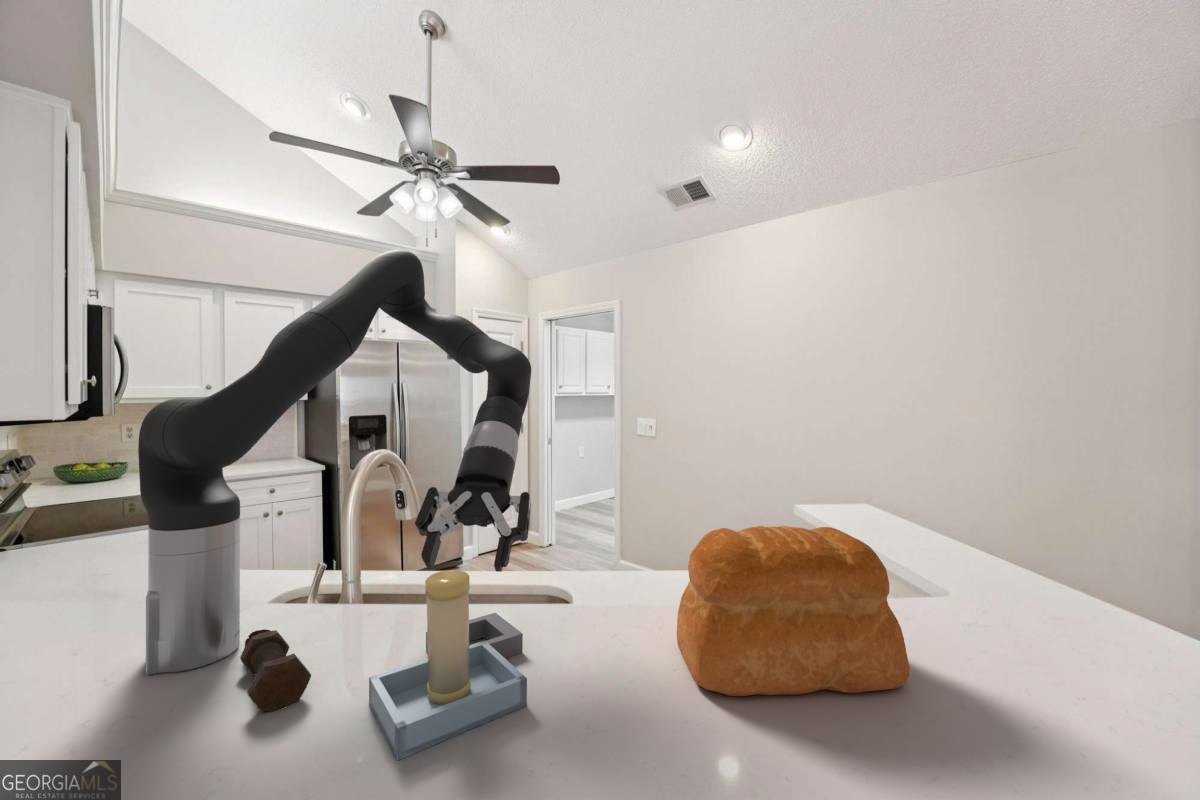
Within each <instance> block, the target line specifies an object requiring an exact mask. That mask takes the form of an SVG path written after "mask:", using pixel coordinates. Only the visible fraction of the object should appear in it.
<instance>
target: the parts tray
mask: <svg viewBox="0 0 1200 800" xmlns="http://www.w3.org/2000/svg"><path fill="white" fill-rule="evenodd" d="M486 641H487V640H483V641H482V640H481V641H479V642H476V643H472V644H469V669H470V677H471V689H470V692H469V694H468V695H467V696H466V697H464V698H462V699H459V700H456V701H454V702H451V703H448V704H446V705H437V704H434V703H432V702H431V701H430V700H429V698H428V688H427V684H428V658H425V659H422V660H418V661H416V662H413V663H409V664H406V665H403V666H399V667H396V668H393V669H390V670H386V671H384V672H380V673H378V674H377V673H376V674H375V675H374V674H373V675H371V676H369V677H368V706H369V708H370V710H371V712H372V713H373V715H374V717H375V719H376V721H377V723H378V724H379V727H380V729H381V731H382V733H383V735H384V736H385V739H386V740H387V741H386V742H387V743H388V745H389V746H390V748H391V751H392V753H393V754H394V757H395V759H396V761H399V760H402V759H405V758H407V757H410V756H412V755H413V754H416V753H419V752H420V751H423V750H426V749H427V748H430V747H433V746H435V745H438V744H440V743H442V742H444V741H447V740H449V739H451V738H454V737H456V736H459V735H461V734H464V733H466V732H468V731H471V730H473V729H475V728H477V727H479V726H480V727H481V726H482V725H485V724H487V723H490V722H492V721H494V720H497V719H499V718H501V717H503V716H505V715H509V714H511V713H513V712H516V711H517V710H519V709H522V708H525V707H527V705H528V702H527V701H528V700H527V699H528V698H527V697H528V678H527V677H526V676H525V675H524V674H523V673H522V672H520V670H519V669H517V667H515V666H514V665H513V664H512V663H511V662H509V660H508V659H507V658H504V657H503V656H502V655H501V654H499V653H498V652H497V651H496V650H495V649H494V648H493V647H492V646H491V645H489V644H488V643H487V642H486Z"/></svg>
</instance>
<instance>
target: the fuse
mask: <svg viewBox="0 0 1200 800" xmlns="http://www.w3.org/2000/svg"><path fill="white" fill-rule="evenodd" d="M424 582H425V583H424V584H425V585H424V589H425V595H426V630H427V631H426V632H427V640H428V653H427V659H428V684H427V688H428V698H429V700H430V701H431V702H432V703H434V704H437V705H446V704H448V703H451V702H454V701H456V700H459V699H462V698H464V697H466V696H467V695H468V694H469V692H470V689H471V677H470V669H469V645H470V642H469V620H470V599H469V598H470V597H469V596H470V595H469V594H470V593H469V591H470V587H471V586H470V575H469V573H467V572H466V571H462V570H459V569H458V570H457V569H448V570H442V571H438V572H435V573H433V574H432V575H429V576H428V577H427V578H426V580H425V581H424Z"/></svg>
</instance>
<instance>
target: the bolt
mask: <svg viewBox="0 0 1200 800" xmlns="http://www.w3.org/2000/svg"><path fill="white" fill-rule="evenodd" d="M289 650H290V645H289V644H288V642H287V641H286V640H285V639H284V638H283V636H282V634H280V633H279V632H278V631H277V630H275V629H274V630H270V629H265V628H264V629H259V630H255V631H252V632H251V633H250V634H249V635H248V636H247V638H246V639H245V641H244V648H243V651H242V652H241V654H240V656H239V659H240V661H241V663H242V664H243V665H244V667H245V668H246V669H247V670H248V671H249V672H250V673H251V674H252V675H253V674H256V675H254V677H253V680H252V681H251V684H250V685H249V687H248V689H247V691H246V693H247V696H248V698H249V699H250V700H251V701H252V702H253V703H254V705H255V706H256V707H257V708H258V709H259V710H260V711H261V712H262V713H263V714H268V713H275V712H277V711H281V710H283V709H286V708H288V706H289V707H290V705H291V706H293V705H294V703H295V704H297V703H298V702H299V701H300V699H301V698H302V696H303V694H304V693H305V691H306V689H307V687H308V685H309V683H310V680H311V678H312V674H311V672H310V670H309V669H307V667H306V666H305V664H304V663H303V662H302V660H300V658H299V657H298V656H297V654H295V653H292V654H288V652H289ZM292 704H293V705H292ZM285 707H286V708H285Z"/></svg>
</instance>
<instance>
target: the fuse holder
mask: <svg viewBox="0 0 1200 800" xmlns="http://www.w3.org/2000/svg"><path fill="white" fill-rule="evenodd" d="M483 638H486V639H487V640H485V641H486V642H487V643H488V644H489V645H491V646H492V647H493V648H494V649H495V650H496V651H497V652H498V653H499V654H501V655H502V656H503V657H504V658H505V659H508V658H511V657H513V656H516V655H519V654H522V653H523V649H524V648H523V645H524V644H523V643H524V642H523V640H524V639H523V633H522V632H521V631H520V630H518V628H516V627H515V626H513V625H512V624H511V623H509V622H508V621H507V620H505V619H504V618H503V617H502V616H500V615H499V614H498V613H497V612H492V613H489V614H486V615H483V616H478V617H475V618H472V619H469V643H470V642H473V640H474V641H477V640H479V639H483ZM476 639H477V640H476ZM425 652H426V653H427V654H428V640H427V631H426V632H425Z"/></svg>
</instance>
